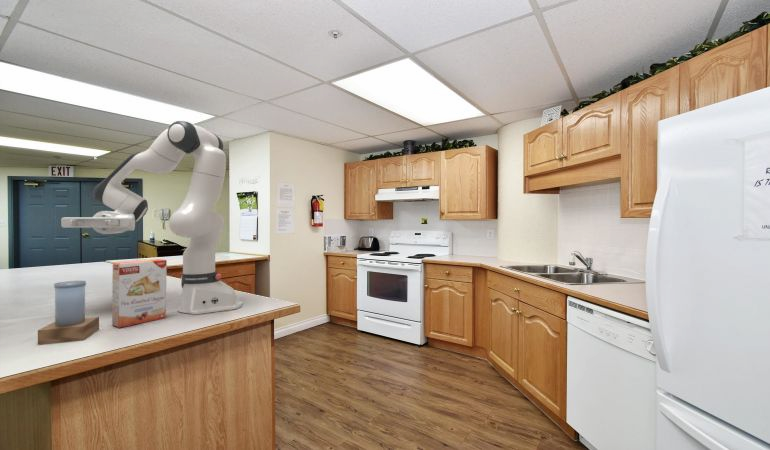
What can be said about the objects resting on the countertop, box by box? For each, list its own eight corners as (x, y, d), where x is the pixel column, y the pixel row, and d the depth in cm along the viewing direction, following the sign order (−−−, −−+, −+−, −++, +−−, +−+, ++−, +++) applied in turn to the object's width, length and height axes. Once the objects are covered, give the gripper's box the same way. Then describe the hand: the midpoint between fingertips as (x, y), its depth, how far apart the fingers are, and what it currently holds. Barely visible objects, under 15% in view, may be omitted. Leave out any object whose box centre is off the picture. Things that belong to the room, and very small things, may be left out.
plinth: (99, 329, 103) (99, 316, 103) (83, 340, 94) (83, 326, 94) (58, 333, 100) (57, 320, 100) (37, 344, 90) (37, 330, 90)
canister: (90, 318, 101) (90, 280, 101) (79, 325, 95) (79, 284, 95) (61, 321, 99) (61, 281, 99) (48, 327, 92) (48, 285, 92)
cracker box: (119, 328, 104) (118, 263, 104) (111, 325, 107) (111, 262, 107) (167, 318, 116) (167, 259, 116) (159, 315, 119) (159, 258, 119)
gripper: (72, 214, 121) (50, 213, 108) (139, 214, 128) (126, 213, 115) (72, 231, 121) (50, 232, 108) (139, 230, 128) (126, 231, 115)
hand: (90, 222), depth 112 cm, fingers open, 8 cm apart
